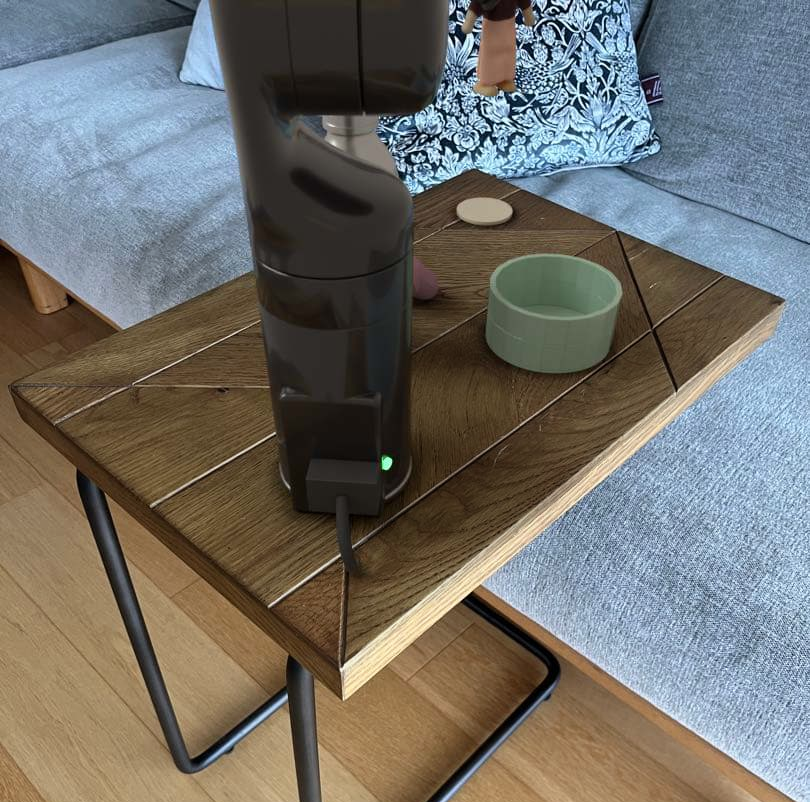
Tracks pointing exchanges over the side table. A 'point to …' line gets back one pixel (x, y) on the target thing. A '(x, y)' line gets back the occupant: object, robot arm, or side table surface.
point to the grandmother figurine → (497, 44)
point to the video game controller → (423, 281)
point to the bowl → (552, 312)
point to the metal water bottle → (359, 139)
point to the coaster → (484, 211)
